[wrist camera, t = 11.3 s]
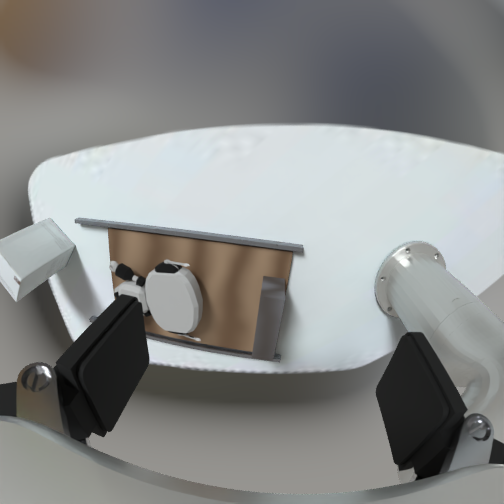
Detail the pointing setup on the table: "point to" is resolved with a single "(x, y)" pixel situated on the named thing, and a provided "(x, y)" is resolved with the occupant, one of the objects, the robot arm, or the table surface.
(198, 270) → the brown rectangular mat
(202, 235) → the guide rails
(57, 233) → the skincare box
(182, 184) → the table surface
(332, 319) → the table surface
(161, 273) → the robot toy
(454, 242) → the table surface
